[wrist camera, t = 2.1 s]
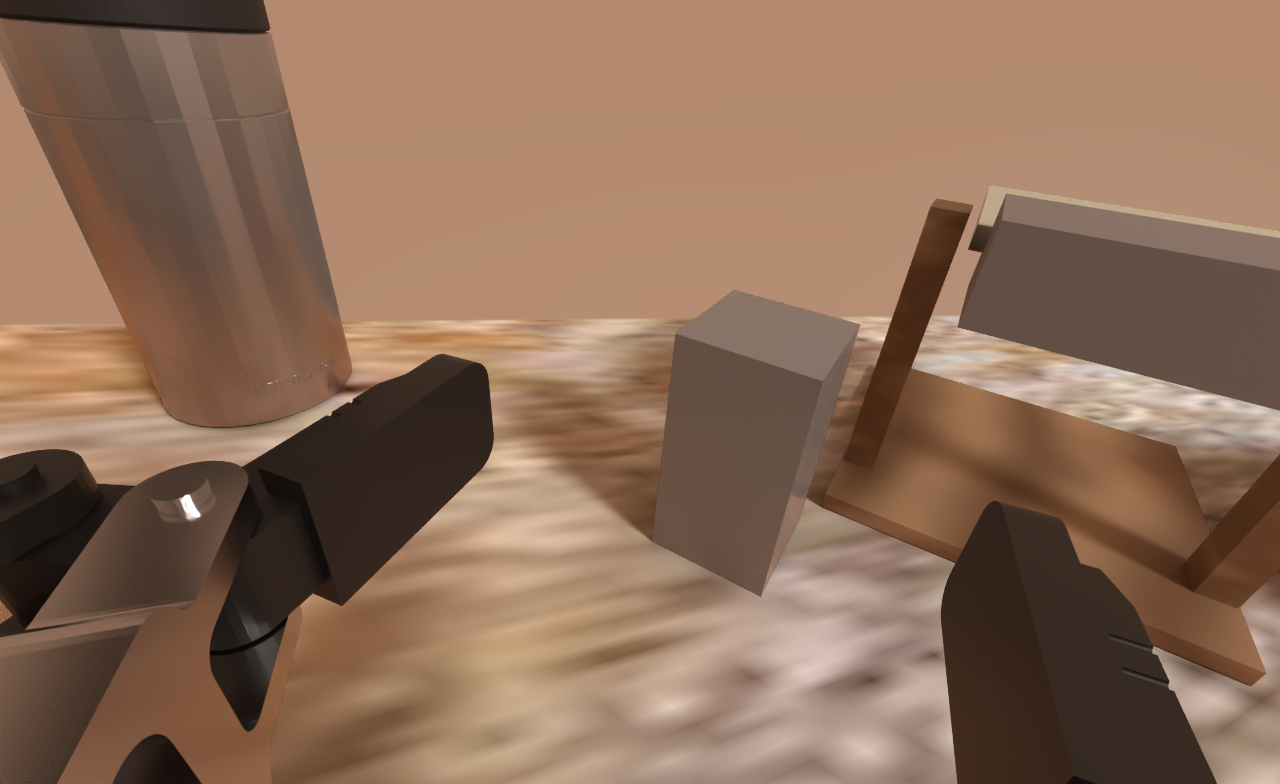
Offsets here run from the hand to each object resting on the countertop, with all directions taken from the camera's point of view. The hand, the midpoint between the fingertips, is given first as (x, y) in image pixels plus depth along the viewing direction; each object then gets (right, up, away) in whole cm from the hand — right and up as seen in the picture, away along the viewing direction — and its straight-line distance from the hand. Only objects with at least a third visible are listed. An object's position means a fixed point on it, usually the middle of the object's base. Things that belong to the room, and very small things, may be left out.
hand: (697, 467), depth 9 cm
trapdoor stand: (+19, -3, +20) cm, 28 cm away
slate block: (+3, -5, +16) cm, 17 cm away
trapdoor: (+19, +5, +13) cm, 23 cm away
